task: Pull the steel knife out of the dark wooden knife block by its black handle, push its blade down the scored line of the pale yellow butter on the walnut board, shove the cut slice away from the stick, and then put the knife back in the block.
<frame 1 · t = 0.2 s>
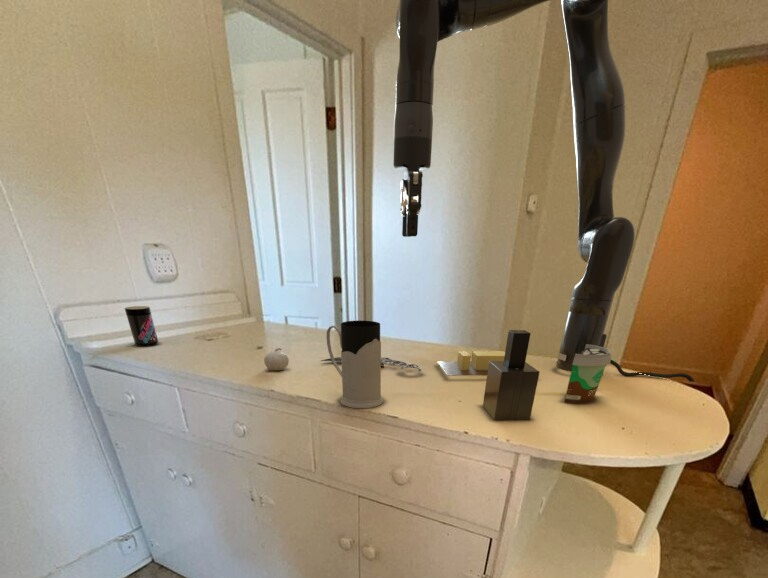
hand: (409, 236, 92), 29 cm above the countertop, tool pointing down, fingers open, 8 cm apart
butter: (492, 367, 109), point 1 cm above the countertop, touching cutting board
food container: (583, 399, 92), on the countertop
supplement container: (147, 345, 132), on the countertop
butter slice: (463, 367, 108), point 1 cm above the countertop, touching cutting board
cutting board: (483, 372, 109), on the countertop
glass holder: (352, 399, 90), on the countertop
kitchen knife: (512, 373, 80), in the knife block
knife block: (505, 412, 84), on the countertop
garlic: (277, 370, 109), on the countertop
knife: (374, 367, 112), on the countertop
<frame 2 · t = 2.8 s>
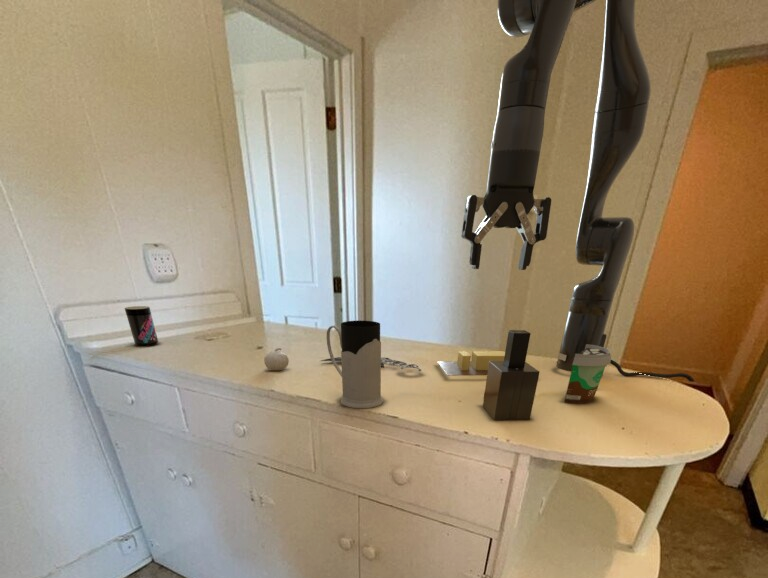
hand: (498, 269, 75), 24 cm above the countertop, tool pointing down, fingers open, 8 cm apart
nothing on the countertop moved.
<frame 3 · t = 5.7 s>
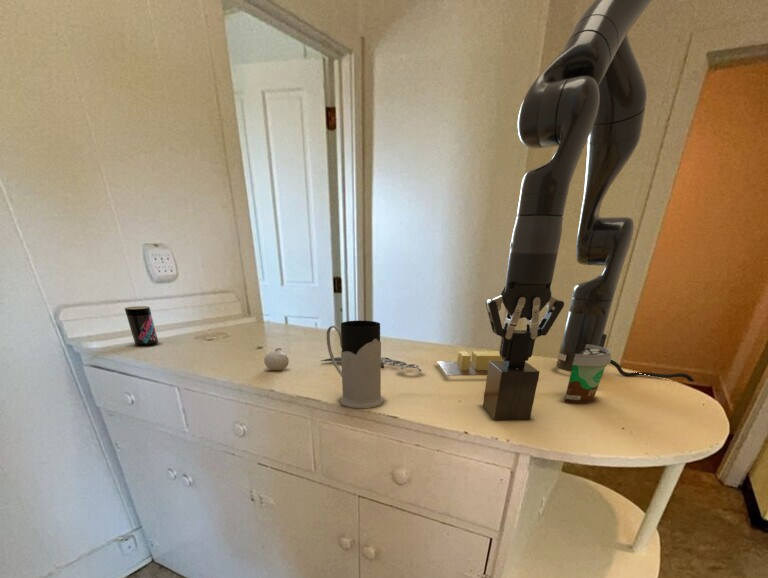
hand: (514, 359, 78), 10 cm above the countertop, tool pointing down, fingers closed on kitchen knife, 3 cm apart
kitchen knife: (512, 373, 80), in the knife block, touching gripper
everything else where it was.
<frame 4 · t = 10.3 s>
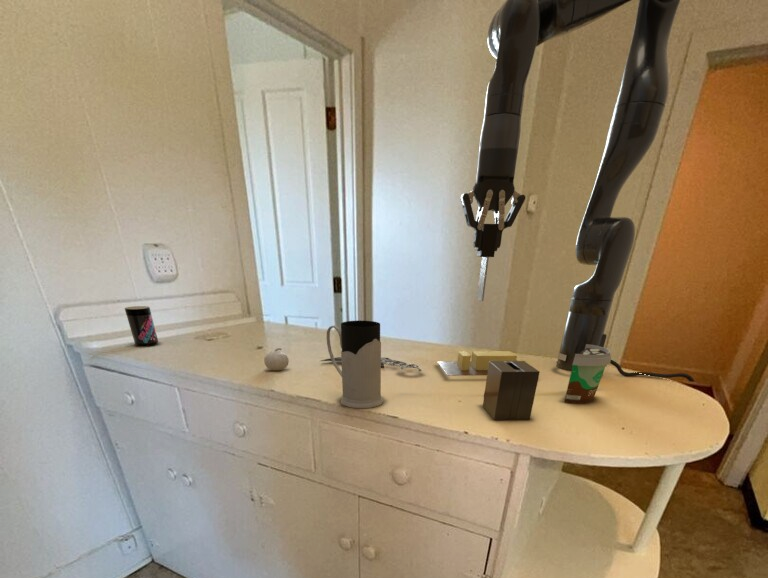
hand: (486, 250, 93), 27 cm above the countertop, tool pointing down, fingers closed on kitchen knife, 3 cm apart
kitchen knife: (484, 263, 95), point 24 cm above the countertop, touching gripper
everything else where it was.
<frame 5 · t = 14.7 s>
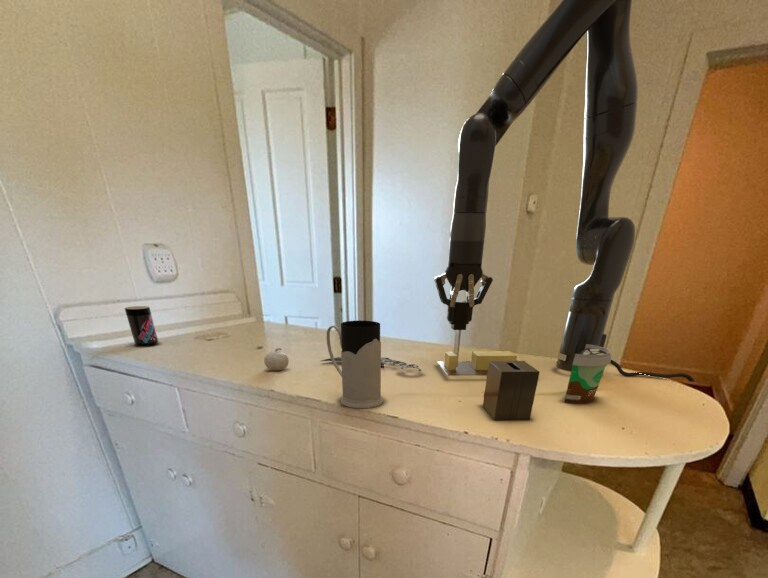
hand: (459, 323, 102), 12 cm above the countertop, tool pointing down, fingers closed on kitchen knife, 3 cm apart
butter slice: (449, 367, 108), point 1 cm above the countertop, touching cutting board, kitchen knife
kitchen knife: (457, 334, 104), point 9 cm above the countertop, touching butter slice, gripper
everything else where it was.
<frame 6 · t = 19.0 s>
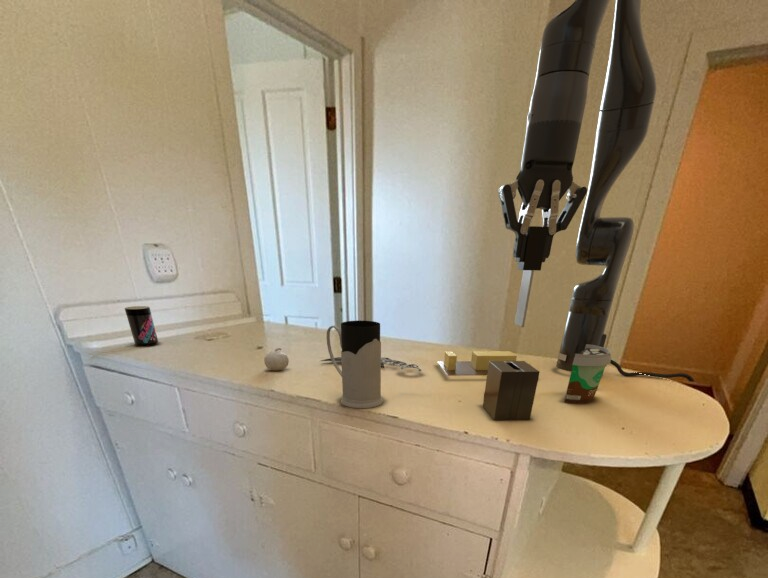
hand: (530, 261, 70), 26 cm above the countertop, tool pointing down, fingers closed on kitchen knife, 3 cm apart
butter slice: (449, 367, 108), point 1 cm above the countertop, touching cutting board
kitchen knife: (527, 278, 72), point 23 cm above the countertop, touching gripper
everything else where it was.
when the fingers open (10 cm above the countertop, at t = 22.6 s): kitchen knife stays where it is, resting on knife block.
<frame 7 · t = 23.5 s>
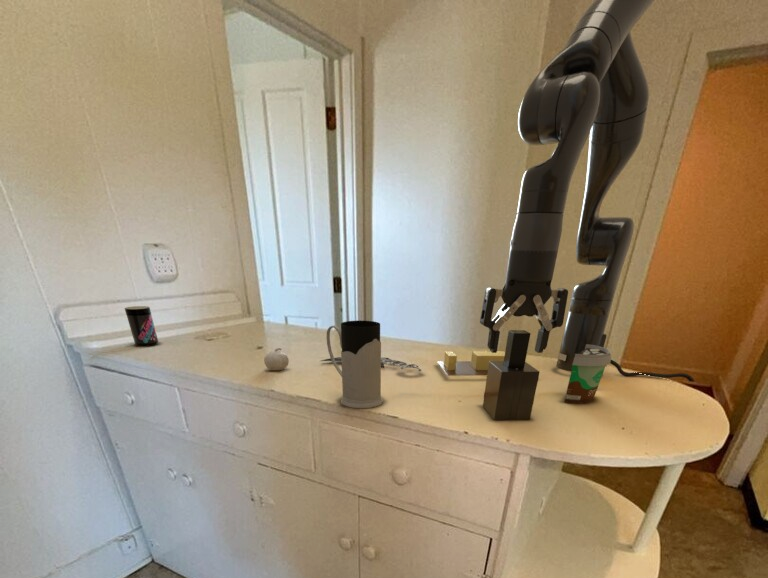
hand: (515, 352, 78), 12 cm above the countertop, tool pointing down, fingers open, 8 cm apart
kitchen knife: (512, 373, 80), in the knife block
everything else where it was.
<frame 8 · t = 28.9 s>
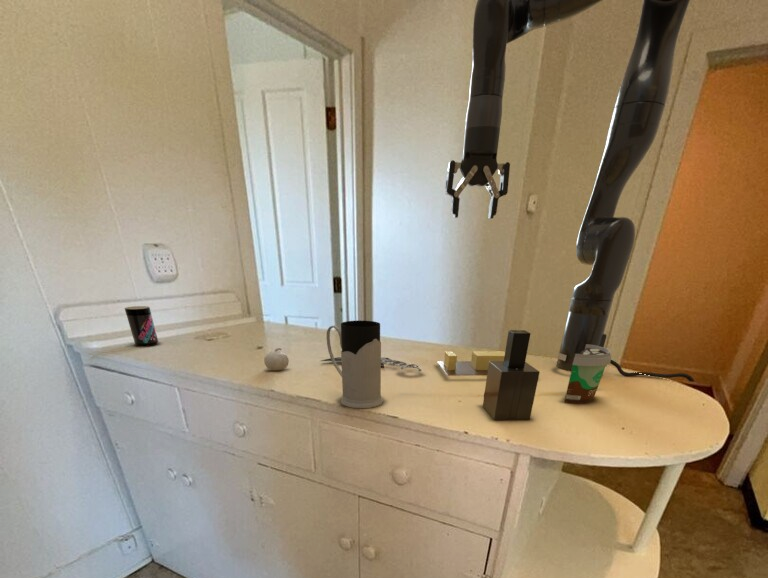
hand: (473, 218, 101), 33 cm above the countertop, tool pointing down, fingers open, 8 cm apart
nothing on the countertop moved.
at the end: butter slice moved 3.5 cm from its start; butter moved 0.0 cm from its start; the gripper is holding nothing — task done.
